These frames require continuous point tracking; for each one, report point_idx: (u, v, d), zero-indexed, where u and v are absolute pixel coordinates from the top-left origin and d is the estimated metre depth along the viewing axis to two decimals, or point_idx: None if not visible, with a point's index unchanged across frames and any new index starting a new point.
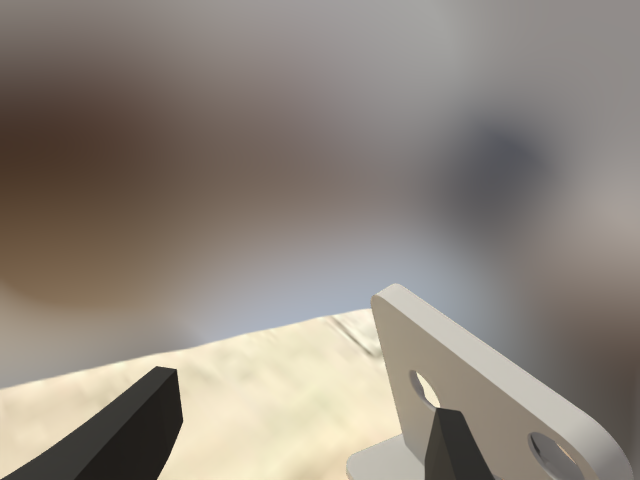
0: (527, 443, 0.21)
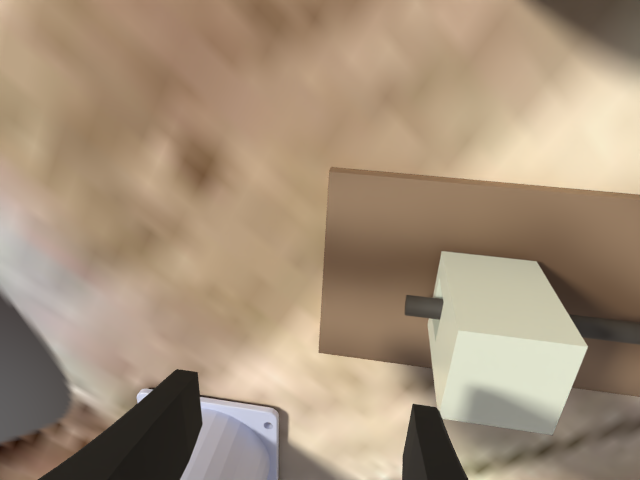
0: None
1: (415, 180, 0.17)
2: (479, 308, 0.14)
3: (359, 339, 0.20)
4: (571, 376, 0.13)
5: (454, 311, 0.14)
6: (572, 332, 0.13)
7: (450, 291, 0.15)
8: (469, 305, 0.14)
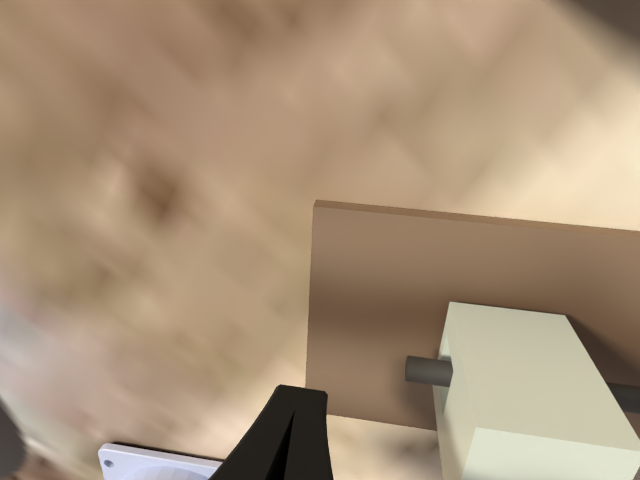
0: None
1: (418, 217, 0.14)
2: (501, 390, 0.11)
3: (351, 397, 0.17)
4: None
5: (469, 395, 0.11)
6: (623, 428, 0.10)
7: (462, 363, 0.12)
8: (487, 385, 0.11)
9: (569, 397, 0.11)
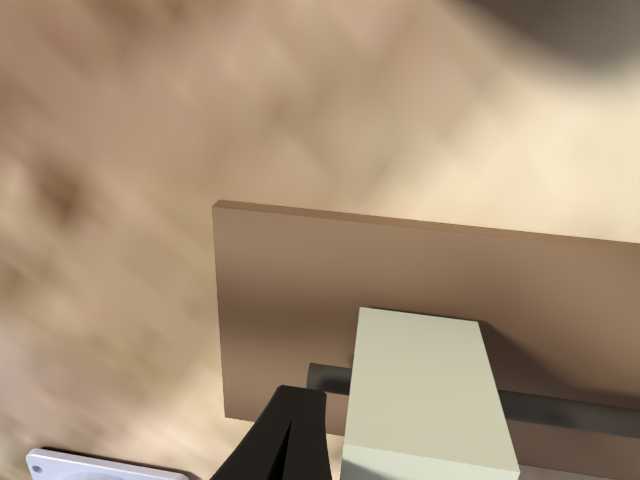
0: None
1: (318, 219, 0.13)
2: (383, 403, 0.10)
3: None
4: None
5: (348, 408, 0.10)
6: (503, 445, 0.10)
7: (352, 373, 0.11)
8: (371, 397, 0.11)
9: (454, 411, 0.10)
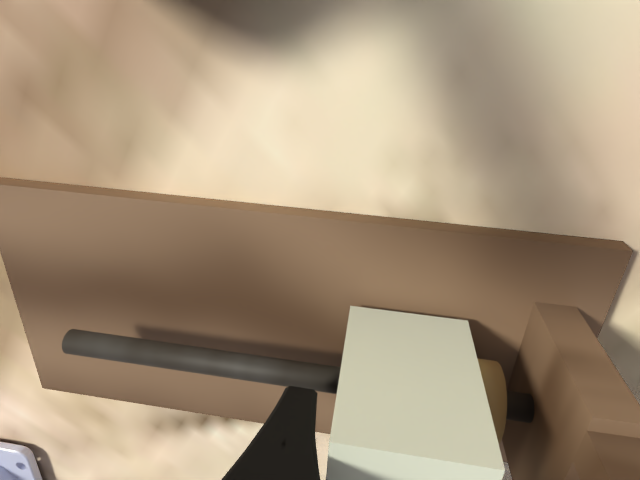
0: None
1: (73, 193, 0.14)
2: (370, 401, 0.10)
3: (78, 374, 0.18)
4: None
5: (335, 406, 0.10)
6: (489, 443, 0.10)
7: (340, 371, 0.11)
8: (358, 396, 0.11)
9: (441, 409, 0.10)
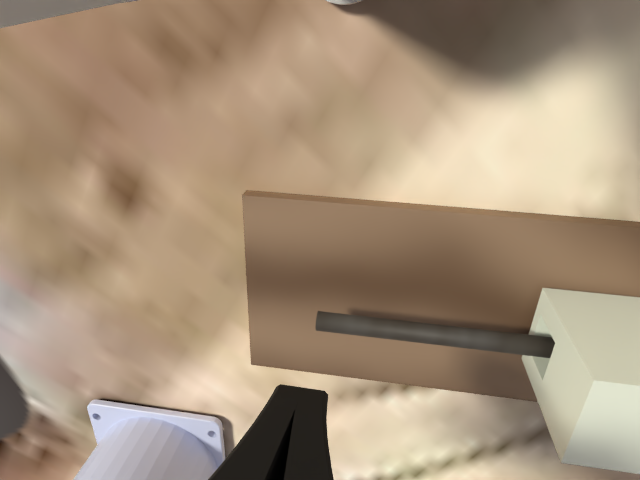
0: None
1: (322, 202, 0.18)
2: (605, 354, 0.14)
3: (287, 351, 0.21)
4: None
5: (581, 358, 0.14)
6: None
7: (568, 334, 0.15)
8: (593, 350, 0.14)
9: None
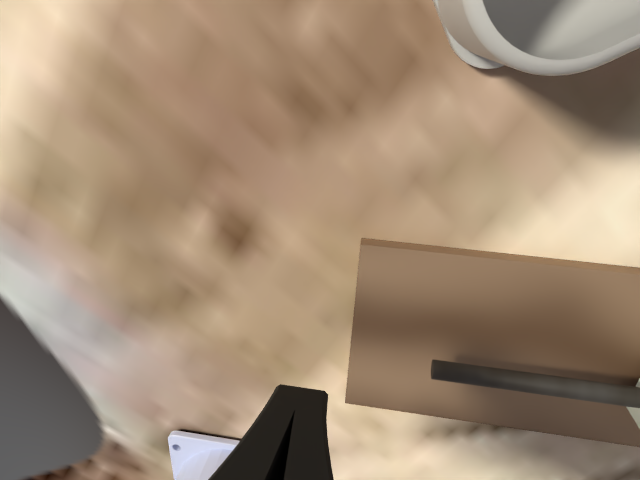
0: None
1: (441, 254, 0.18)
2: None
3: (384, 392, 0.22)
4: None
5: None
6: None
7: None
8: None
9: None
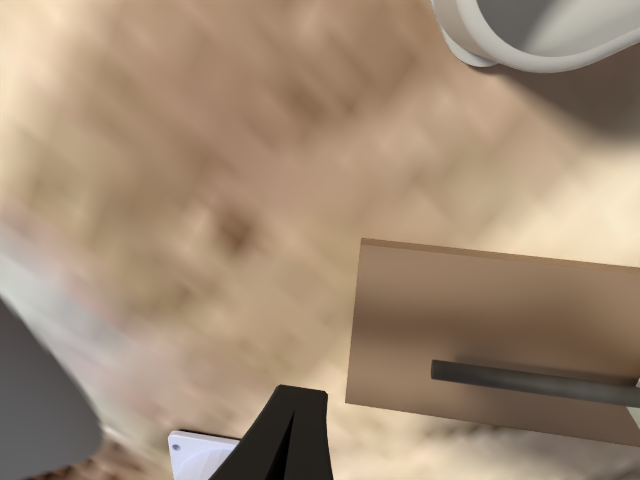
0: None
1: (441, 254, 0.18)
2: None
3: (384, 392, 0.22)
4: None
5: None
6: None
7: None
8: None
9: None
